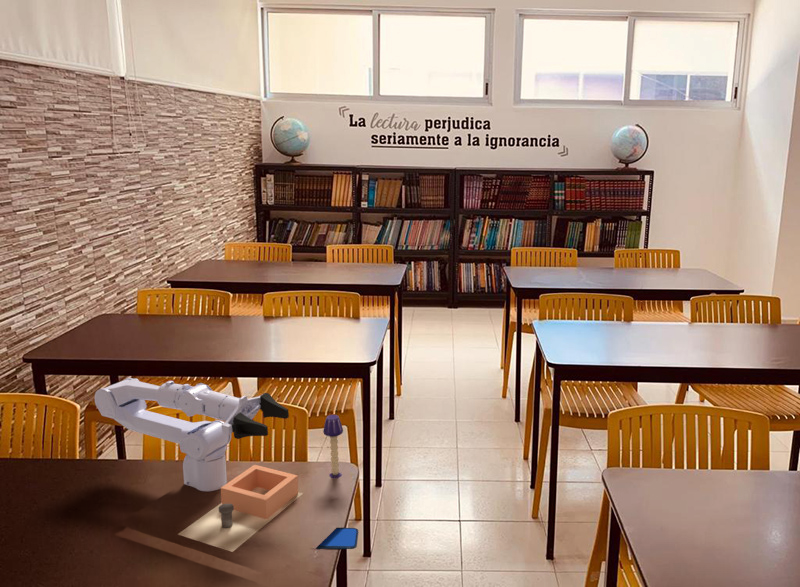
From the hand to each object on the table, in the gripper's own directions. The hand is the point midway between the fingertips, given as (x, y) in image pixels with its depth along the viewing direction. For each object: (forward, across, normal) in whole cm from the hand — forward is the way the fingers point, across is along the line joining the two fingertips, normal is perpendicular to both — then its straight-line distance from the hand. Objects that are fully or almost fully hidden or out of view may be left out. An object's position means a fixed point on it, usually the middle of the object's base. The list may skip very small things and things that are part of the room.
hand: (277, 422), depth 147 cm
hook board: (-4, -10, +20) cm, 22 cm away
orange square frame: (-4, -4, +19) cm, 20 cm away
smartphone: (+15, -9, +20) cm, 26 cm away
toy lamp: (+5, +13, +23) cm, 27 cm away
